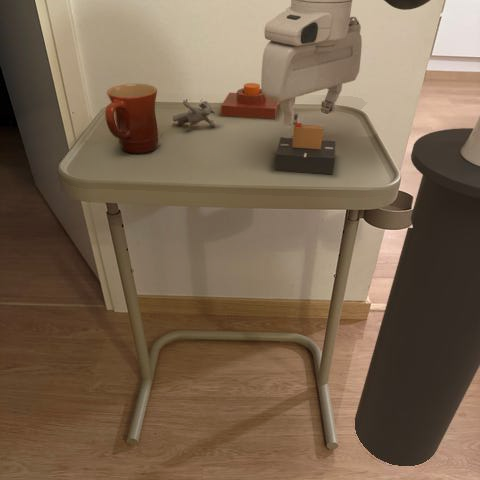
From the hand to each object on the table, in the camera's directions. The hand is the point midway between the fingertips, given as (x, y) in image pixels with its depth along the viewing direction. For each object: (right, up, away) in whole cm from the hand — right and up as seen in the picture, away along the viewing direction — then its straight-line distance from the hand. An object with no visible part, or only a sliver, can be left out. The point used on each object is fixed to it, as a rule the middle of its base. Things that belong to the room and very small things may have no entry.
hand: (309, 118), depth 78 cm
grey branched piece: (-21, +5, +18) cm, 28 cm away
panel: (0, -6, +5) cm, 8 cm away
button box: (-9, +14, +28) cm, 32 cm away
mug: (-31, -2, +9) cm, 33 cm away
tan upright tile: (0, -4, +3) cm, 5 cm away
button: (-9, +17, +25) cm, 32 cm away
